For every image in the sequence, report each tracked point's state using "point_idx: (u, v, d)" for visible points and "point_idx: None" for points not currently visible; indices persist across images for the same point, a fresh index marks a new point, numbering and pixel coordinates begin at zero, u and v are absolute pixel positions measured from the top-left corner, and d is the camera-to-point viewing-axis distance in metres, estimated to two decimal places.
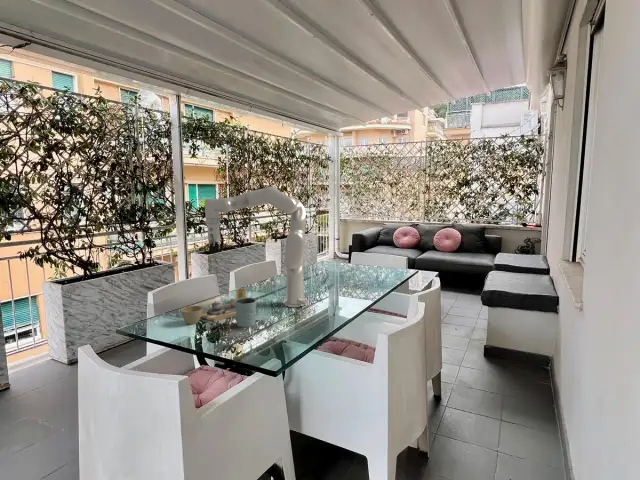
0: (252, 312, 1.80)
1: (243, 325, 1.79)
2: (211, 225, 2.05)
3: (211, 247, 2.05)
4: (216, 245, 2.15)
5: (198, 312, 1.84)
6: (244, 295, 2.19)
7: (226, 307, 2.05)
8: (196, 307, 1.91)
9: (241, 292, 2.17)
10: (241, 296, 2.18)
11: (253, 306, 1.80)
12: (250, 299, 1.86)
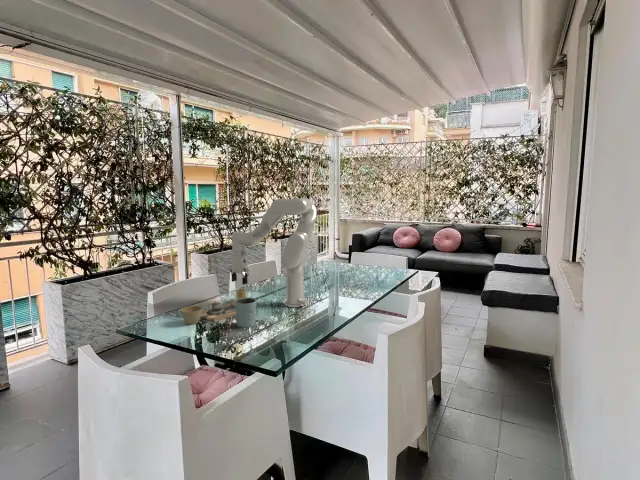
0: (252, 312, 1.80)
1: (243, 325, 1.79)
2: (243, 257, 2.14)
3: (245, 278, 2.15)
4: (235, 276, 2.22)
5: (198, 312, 1.84)
6: (244, 295, 2.19)
7: (226, 307, 2.05)
8: (196, 307, 1.91)
9: (241, 292, 2.17)
10: (241, 296, 2.18)
11: (253, 306, 1.80)
12: (250, 299, 1.86)
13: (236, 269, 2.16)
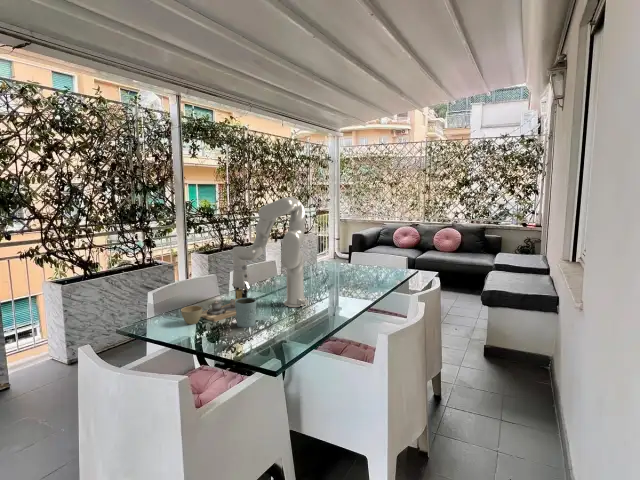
0: (252, 312, 1.80)
1: (243, 325, 1.79)
2: (244, 272, 2.15)
3: (245, 294, 2.17)
4: None
5: (198, 312, 1.84)
6: None
7: (226, 307, 2.05)
8: (196, 307, 1.91)
9: (241, 292, 2.17)
10: (241, 296, 2.18)
11: (253, 306, 1.80)
12: (250, 299, 1.86)
13: (237, 284, 2.17)
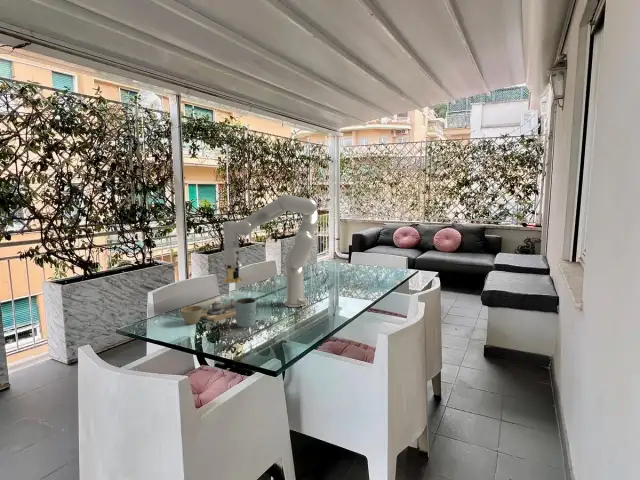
0: (252, 312, 1.80)
1: (243, 325, 1.79)
2: (235, 248, 2.01)
3: (236, 272, 2.03)
4: None
5: (198, 312, 1.84)
6: None
7: (226, 307, 2.05)
8: (196, 307, 1.91)
9: (232, 270, 2.03)
10: (232, 274, 2.03)
11: (253, 306, 1.80)
12: (250, 299, 1.86)
13: (228, 261, 2.03)
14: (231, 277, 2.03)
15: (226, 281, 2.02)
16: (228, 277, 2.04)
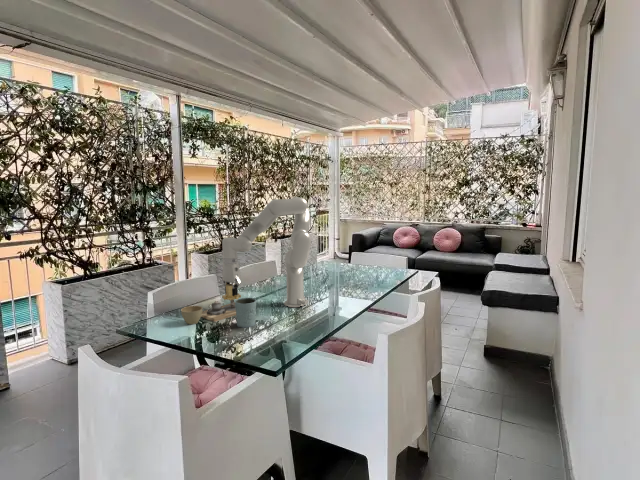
0: (252, 312, 1.80)
1: (243, 325, 1.79)
2: (235, 265, 1.99)
3: (235, 289, 2.01)
4: None
5: (198, 312, 1.84)
6: None
7: (226, 307, 2.05)
8: (196, 307, 1.91)
9: (231, 287, 2.01)
10: (231, 291, 2.01)
11: (253, 306, 1.80)
12: (250, 299, 1.86)
13: (227, 278, 2.01)
14: (230, 294, 2.01)
15: (225, 298, 2.00)
16: (227, 294, 2.02)
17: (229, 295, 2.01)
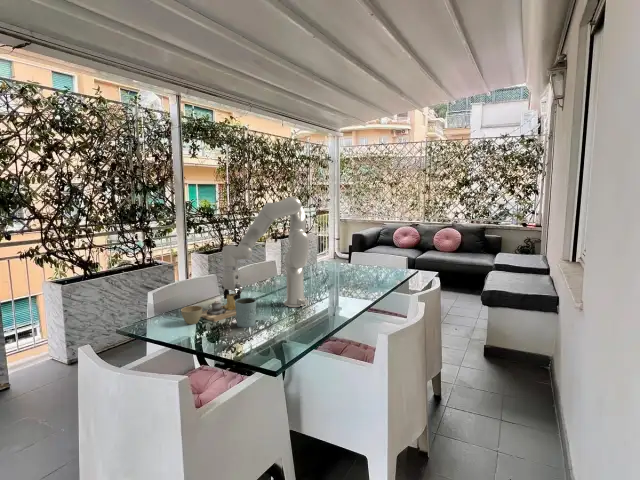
0: (252, 312, 1.80)
1: (243, 325, 1.79)
2: (235, 273, 1.99)
3: (238, 295, 2.00)
4: (227, 293, 2.07)
5: (198, 312, 1.84)
6: None
7: None
8: (196, 307, 1.91)
9: (232, 297, 2.02)
10: (232, 301, 2.02)
11: (253, 306, 1.80)
12: (250, 299, 1.86)
13: (227, 285, 2.01)
14: (231, 304, 2.02)
15: (226, 308, 2.01)
16: (228, 304, 2.03)
17: (230, 305, 2.02)
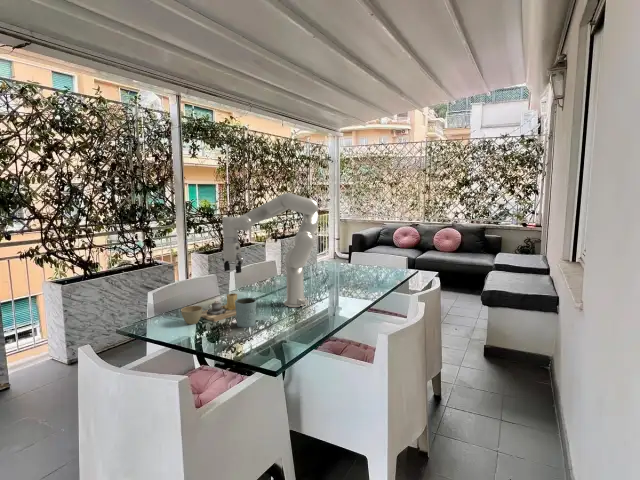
0: (252, 312, 1.80)
1: (243, 325, 1.79)
2: (235, 244, 1.99)
3: (239, 266, 2.00)
4: (228, 265, 2.07)
5: (198, 312, 1.84)
6: None
7: None
8: (196, 307, 1.91)
9: (232, 297, 2.02)
10: (232, 301, 2.02)
11: (253, 306, 1.80)
12: (250, 299, 1.86)
13: (228, 257, 2.01)
14: (231, 304, 2.02)
15: (226, 308, 2.01)
16: (228, 304, 2.03)
17: (230, 305, 2.02)
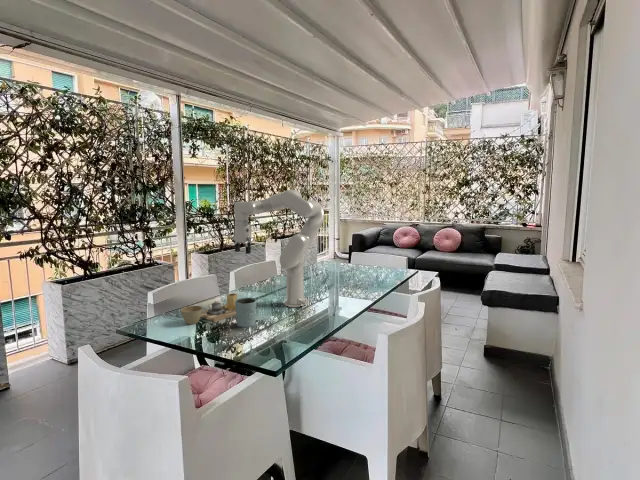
0: (252, 312, 1.80)
1: (243, 325, 1.79)
2: (246, 226, 2.16)
3: (248, 247, 2.17)
4: (238, 246, 2.24)
5: (198, 312, 1.84)
6: None
7: None
8: (196, 307, 1.91)
9: (232, 297, 2.02)
10: (232, 301, 2.02)
11: (253, 306, 1.80)
12: (250, 299, 1.86)
13: (239, 238, 2.18)
14: (231, 304, 2.02)
15: (226, 308, 2.01)
16: (228, 304, 2.03)
17: (230, 305, 2.02)
